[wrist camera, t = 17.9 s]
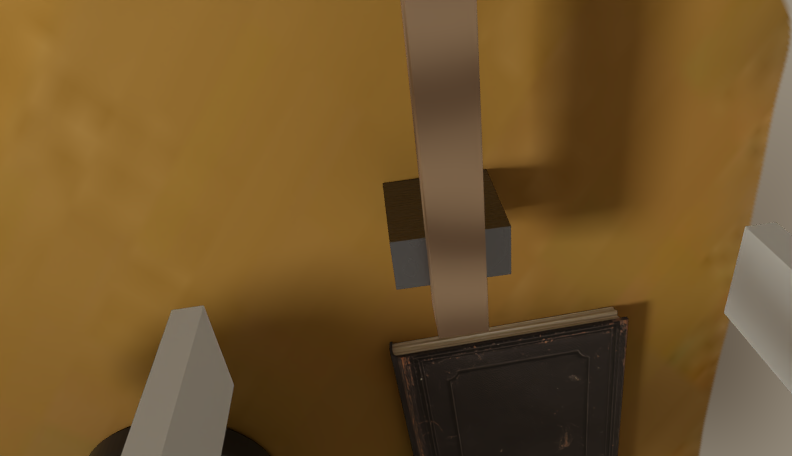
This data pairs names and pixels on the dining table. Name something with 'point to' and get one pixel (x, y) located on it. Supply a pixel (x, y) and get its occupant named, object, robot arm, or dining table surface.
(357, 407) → the dining table surface
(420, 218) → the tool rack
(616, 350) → the hardcover book
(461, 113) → the walnut stick
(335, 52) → the dining table surface
